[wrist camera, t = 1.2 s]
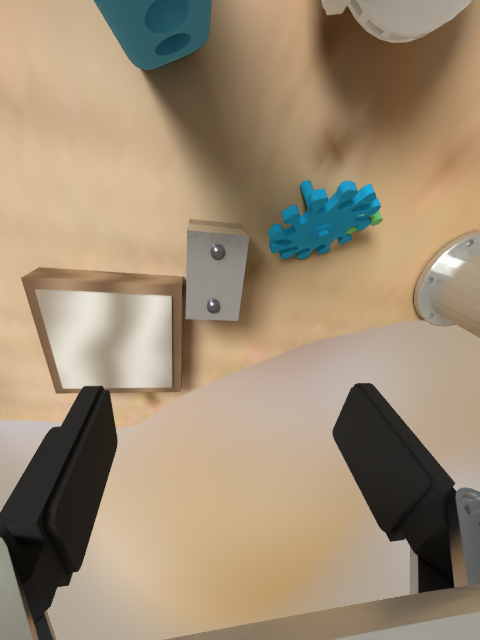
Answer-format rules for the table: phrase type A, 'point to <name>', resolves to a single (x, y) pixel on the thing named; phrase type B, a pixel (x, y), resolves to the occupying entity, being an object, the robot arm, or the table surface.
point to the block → (157, 28)
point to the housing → (215, 270)
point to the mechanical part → (398, 16)
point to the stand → (108, 329)
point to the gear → (325, 219)
